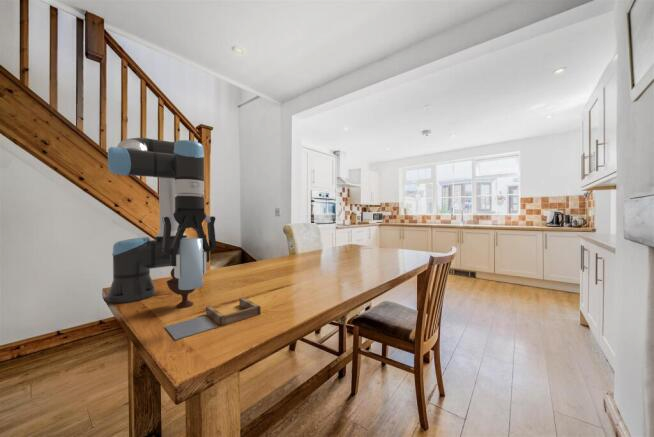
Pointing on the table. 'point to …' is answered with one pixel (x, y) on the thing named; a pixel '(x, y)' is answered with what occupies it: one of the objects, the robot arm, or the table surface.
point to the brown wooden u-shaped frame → (222, 319)
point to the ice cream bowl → (179, 291)
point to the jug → (191, 263)
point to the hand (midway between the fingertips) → (190, 275)
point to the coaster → (190, 327)
